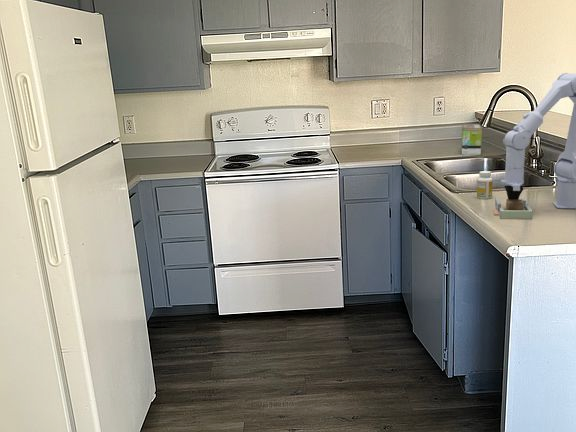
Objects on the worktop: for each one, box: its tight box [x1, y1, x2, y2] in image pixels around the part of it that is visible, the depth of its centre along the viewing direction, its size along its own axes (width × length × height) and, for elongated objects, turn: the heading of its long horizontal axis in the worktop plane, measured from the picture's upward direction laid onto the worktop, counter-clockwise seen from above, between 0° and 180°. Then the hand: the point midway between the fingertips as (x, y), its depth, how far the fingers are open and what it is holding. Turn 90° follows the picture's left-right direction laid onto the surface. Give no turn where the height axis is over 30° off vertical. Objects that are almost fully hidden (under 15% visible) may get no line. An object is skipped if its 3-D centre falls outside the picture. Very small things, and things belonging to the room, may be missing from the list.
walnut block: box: [505, 198, 524, 211], centre depth 185 cm, size 4×4×4 cm
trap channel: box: [492, 197, 533, 220], centre depth 188 cm, size 12×18×2 cm
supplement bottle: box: [476, 170, 494, 200], centre depth 208 cm, size 5×5×10 cm
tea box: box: [460, 124, 483, 156], centre depth 303 cm, size 15×10×15 cm
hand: (512, 207), depth 188 cm, fingers closed
